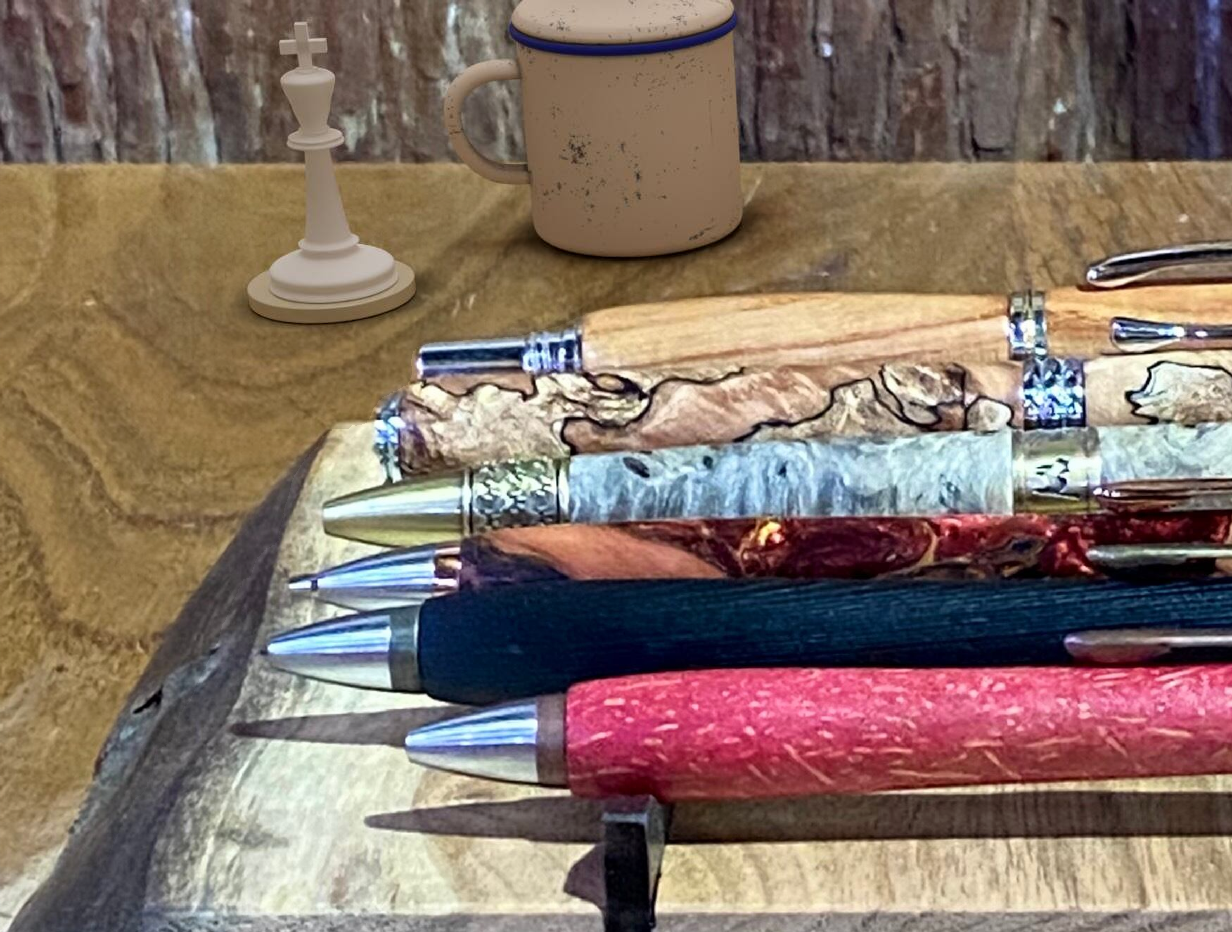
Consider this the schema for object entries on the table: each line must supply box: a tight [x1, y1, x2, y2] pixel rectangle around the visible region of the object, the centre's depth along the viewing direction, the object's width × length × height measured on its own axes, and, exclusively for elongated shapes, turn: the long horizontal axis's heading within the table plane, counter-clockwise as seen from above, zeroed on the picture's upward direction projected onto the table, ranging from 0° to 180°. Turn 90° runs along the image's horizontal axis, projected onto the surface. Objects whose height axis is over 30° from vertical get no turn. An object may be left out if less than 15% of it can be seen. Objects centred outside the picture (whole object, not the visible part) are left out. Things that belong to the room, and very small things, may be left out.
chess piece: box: [268, 21, 398, 303], centre depth 102 cm, size 5×5×10 cm
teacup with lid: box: [443, 0, 744, 258], centre depth 108 cm, size 12×9×12 cm
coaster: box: [246, 259, 417, 324], centre depth 104 cm, size 6×6×1 cm
